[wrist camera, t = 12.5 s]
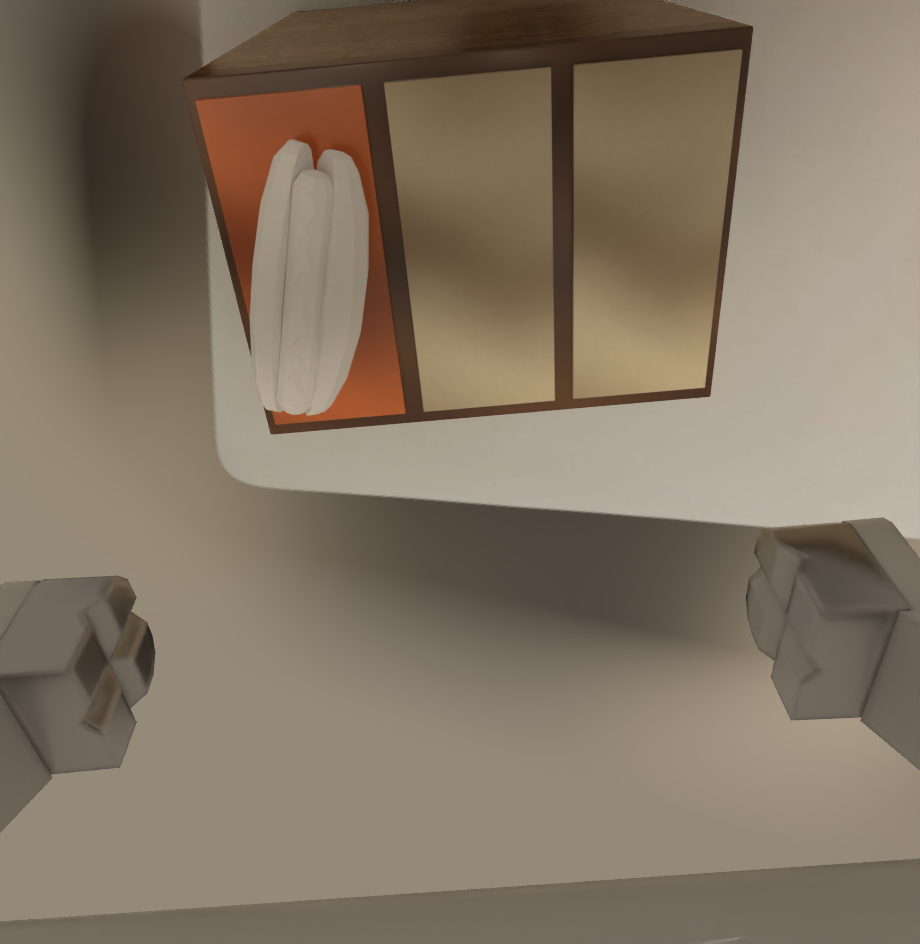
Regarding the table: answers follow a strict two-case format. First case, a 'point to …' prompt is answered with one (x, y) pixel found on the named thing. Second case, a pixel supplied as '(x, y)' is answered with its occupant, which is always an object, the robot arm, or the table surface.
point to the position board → (506, 213)
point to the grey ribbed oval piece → (308, 279)
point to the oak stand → (447, 27)
